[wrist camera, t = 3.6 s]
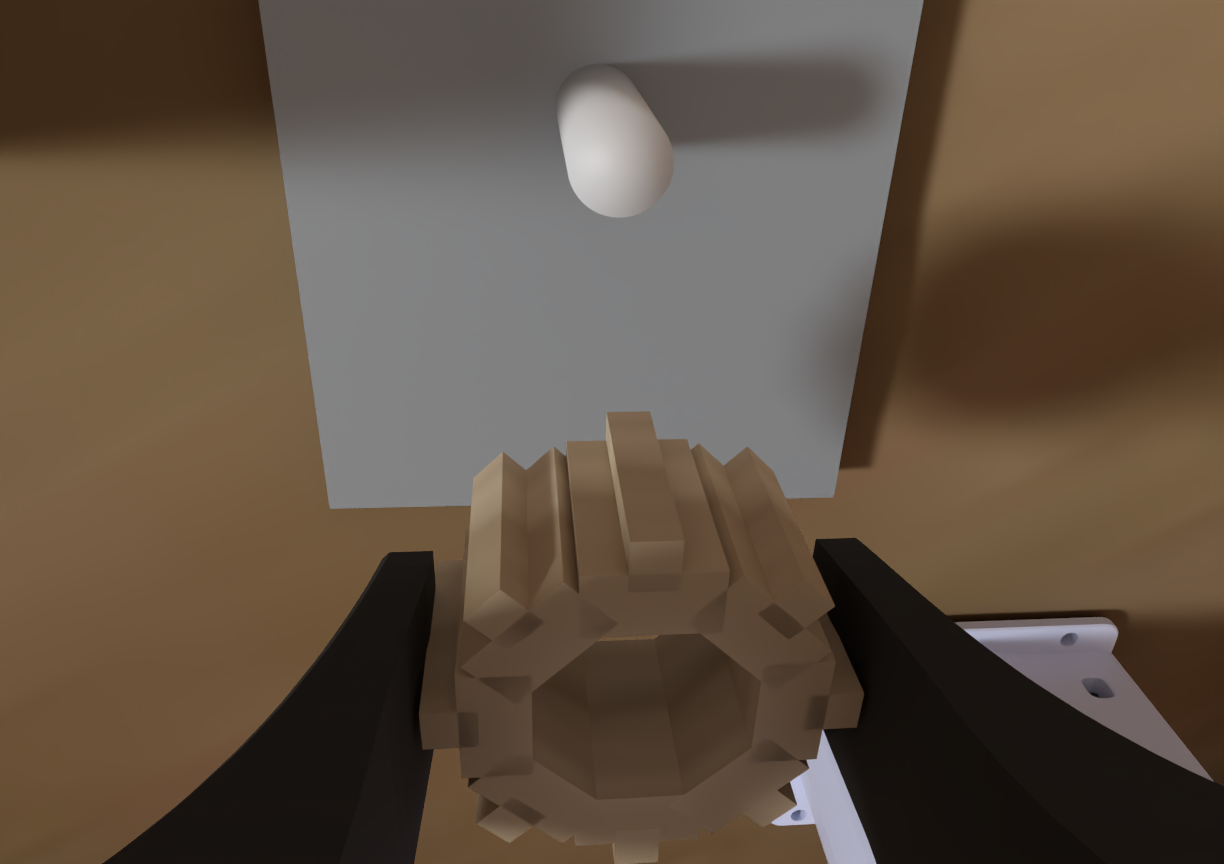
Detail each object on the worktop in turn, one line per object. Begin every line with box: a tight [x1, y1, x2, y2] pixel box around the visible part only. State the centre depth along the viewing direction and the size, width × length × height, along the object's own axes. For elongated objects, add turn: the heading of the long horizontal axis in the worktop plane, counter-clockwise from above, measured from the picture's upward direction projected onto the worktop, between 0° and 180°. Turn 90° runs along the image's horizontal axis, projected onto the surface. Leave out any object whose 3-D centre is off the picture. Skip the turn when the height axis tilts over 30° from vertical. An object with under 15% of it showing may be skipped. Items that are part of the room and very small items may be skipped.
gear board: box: [258, 0, 924, 509], centre depth 15 cm, size 12×22×6 cm, turn 178°
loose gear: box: [419, 411, 864, 864], centre depth 13 cm, size 6×6×3 cm
